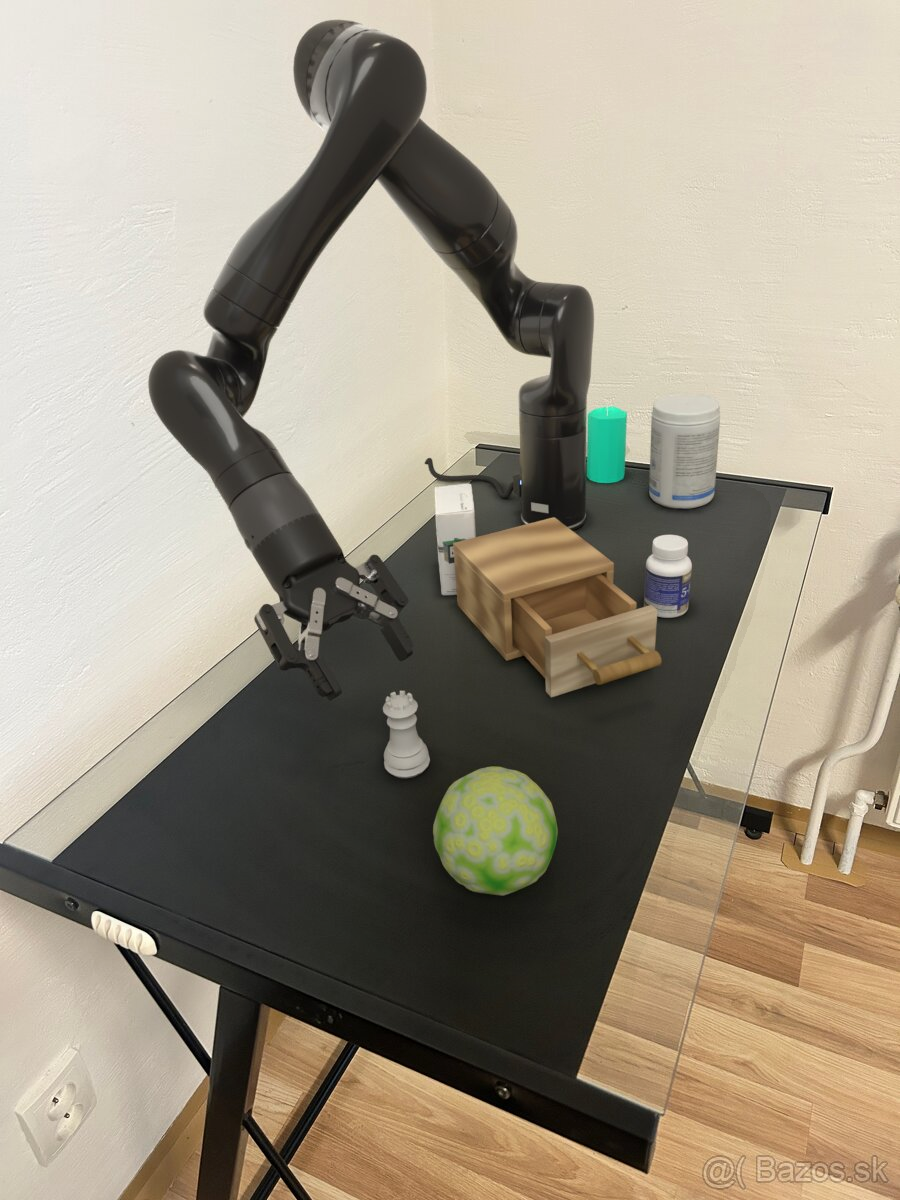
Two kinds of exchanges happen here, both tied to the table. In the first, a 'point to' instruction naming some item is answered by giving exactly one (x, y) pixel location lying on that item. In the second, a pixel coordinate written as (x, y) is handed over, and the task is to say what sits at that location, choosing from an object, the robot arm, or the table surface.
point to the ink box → (452, 528)
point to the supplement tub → (684, 450)
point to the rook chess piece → (404, 738)
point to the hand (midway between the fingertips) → (372, 676)
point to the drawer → (584, 634)
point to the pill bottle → (668, 576)
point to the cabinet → (519, 573)
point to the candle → (606, 444)
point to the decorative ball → (495, 831)
